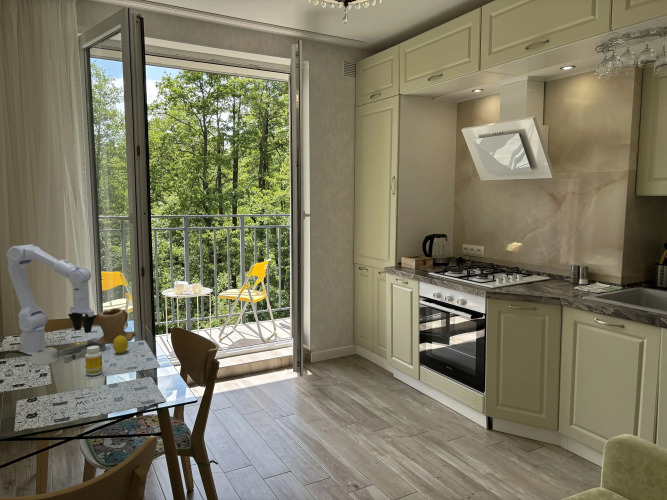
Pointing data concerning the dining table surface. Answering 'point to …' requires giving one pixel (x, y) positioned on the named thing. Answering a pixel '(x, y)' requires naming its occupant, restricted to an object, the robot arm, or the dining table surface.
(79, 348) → the socket
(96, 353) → the supplement bottle
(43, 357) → the block
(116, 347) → the lemon
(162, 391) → the dining table surface
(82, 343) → the brass key tag
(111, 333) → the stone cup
